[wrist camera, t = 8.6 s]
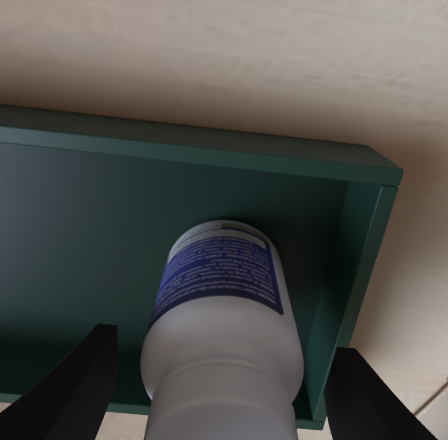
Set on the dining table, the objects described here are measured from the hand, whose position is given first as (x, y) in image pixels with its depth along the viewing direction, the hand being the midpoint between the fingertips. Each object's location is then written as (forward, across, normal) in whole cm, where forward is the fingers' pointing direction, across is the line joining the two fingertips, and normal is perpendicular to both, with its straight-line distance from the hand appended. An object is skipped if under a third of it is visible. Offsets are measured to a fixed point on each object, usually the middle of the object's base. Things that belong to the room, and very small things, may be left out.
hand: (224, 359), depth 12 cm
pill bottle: (+6, 0, 0) cm, 6 cm away
